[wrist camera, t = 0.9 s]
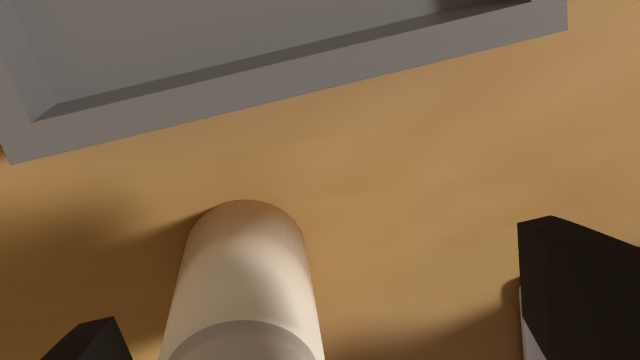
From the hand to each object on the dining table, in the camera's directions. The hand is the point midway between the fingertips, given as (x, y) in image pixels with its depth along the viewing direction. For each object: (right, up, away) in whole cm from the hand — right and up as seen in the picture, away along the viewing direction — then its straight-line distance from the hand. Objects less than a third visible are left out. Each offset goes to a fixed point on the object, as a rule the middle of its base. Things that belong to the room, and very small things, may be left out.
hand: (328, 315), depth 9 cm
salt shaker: (-3, 0, +10) cm, 11 cm away
